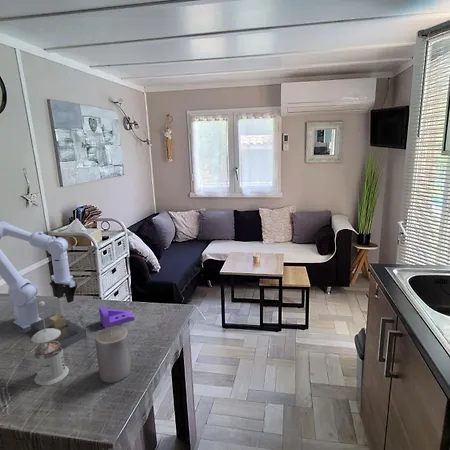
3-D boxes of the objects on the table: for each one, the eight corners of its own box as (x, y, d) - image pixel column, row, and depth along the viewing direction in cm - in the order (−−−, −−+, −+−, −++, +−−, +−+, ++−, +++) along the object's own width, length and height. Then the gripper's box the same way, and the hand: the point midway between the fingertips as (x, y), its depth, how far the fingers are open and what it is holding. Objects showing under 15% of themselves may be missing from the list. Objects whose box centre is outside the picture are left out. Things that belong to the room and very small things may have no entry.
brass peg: (51, 334, 129) (49, 317, 128) (61, 329, 132) (59, 313, 131) (56, 337, 127) (54, 320, 125) (67, 332, 130) (64, 316, 129)
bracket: (105, 329, 133) (103, 313, 131) (100, 322, 138) (98, 307, 137) (134, 320, 139) (133, 305, 138) (129, 314, 145) (127, 299, 143)
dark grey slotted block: (31, 331, 132) (30, 324, 131) (56, 320, 140) (55, 314, 139) (61, 349, 119) (60, 342, 118) (86, 336, 127) (85, 329, 126)
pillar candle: (106, 362, 111) (101, 322, 108) (135, 362, 111) (131, 322, 107) (94, 383, 102) (88, 339, 98) (126, 383, 101) (121, 339, 98)
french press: (45, 389, 99) (33, 312, 94) (24, 376, 105) (12, 303, 100) (75, 371, 107) (65, 298, 102) (54, 359, 113) (44, 291, 108)
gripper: (80, 268, 134) (84, 300, 137) (61, 262, 142) (65, 292, 145) (63, 274, 128) (67, 306, 131) (44, 267, 136) (48, 298, 139)
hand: (65, 299), depth 138 cm, fingers open, 7 cm apart
